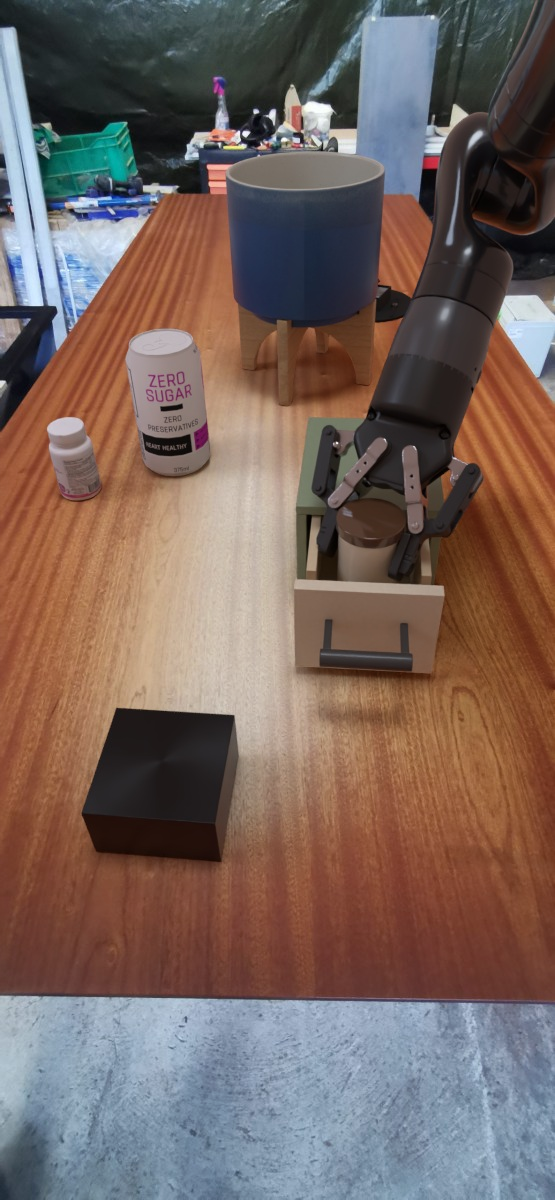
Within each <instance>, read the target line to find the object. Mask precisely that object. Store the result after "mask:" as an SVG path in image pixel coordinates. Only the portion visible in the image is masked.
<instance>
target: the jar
mask: <svg viewBox="0 0 555 1200" xmlns="http://www.w3.org/2000/svg"><path fill="white" fill-rule="evenodd" d="M406 523H407V518H406V515H405V513H404V511H403V510H402V509H401V508H400V507H399V506H397V505H396V504H394V503H392V502H390V501H387V500H383V499H378V498H362V499H357V500H353V501H350V502H348V503H346V504H345V505H343V506H342V507H341V508H340V509H339V511H338V513H337V516H336V530H337V532H338V559H337V581H347V582H370V583H392V584H398V581H397V580H394V579H391V578H389V577H388V571H389V568H390V566H391V563H392V560H393V557H394V555H395V552H396V549H397V547H398V544H399V541H400V539H401V537H402V534H403V532H405V531H406Z"/></svg>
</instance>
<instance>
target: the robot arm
mask: <svg viewBox="0 0 555 1200" xmlns="http://www.w3.org/2000/svg"><path fill="white" fill-rule="evenodd" d="M435 176H436V177H435V189H434V190H435V191H434V206H433V207H434V208H433V219H432V220H433V221H432V226H431V227H432V228H431V235H430V241H429V244H428V249H427V254H426V257H425V260H424V263H423V265H422V269H421V272H420V274H419V278H418V280H417V282H416V285H415V288H414V291H413V294H412V296H411V302H410V304H409V307H408V309H407V311H406V313H405V315H404V317H402V319H401V321H400V323H399V325H398V327H397V329H396V332H395V334H394V336H393V340H392V342H391V345H390V348H389V351H388V353H387V356H386V359H385V362H384V365H383V367H382V370H381V372H380V374H379V375H380V376H379V378H378V380H377V383H376V386H375V388H374V392H373V394H372V397H371V400H370V403H369V406H368V410H367V412H366V415H365V418H364V419H365V420H364V421H363V423H362V424H361V425H360V426H359V427H358V428H357V429H356V430H355V431H347V430H337V429H336V428H335V427H334V426H332V425H327V426H325V427H324V428H323V429H322V433H321V439H320V444H319V449H318V455H317V460H316V466H315V471H314V476H313V482H312V487H311V490H312V492H313V493H314V494H315V495H316V496H318V497H319V498H320V499H321V500H323V501H324V502H325V504H326V507H327V510H326V513H325V516H324V519H323V521H322V524H321V527H320V530H319V532H318V535H317V538H316V544H317V545H319V546H320V547H319V553H321V554H323V555H325V556H328V557H331V558H333V557H334V555H335V553H336V550H337V547H338V532H337V530H336V516H337V513H338V511H339V509H340V508H341V507H342V506H343V505H345V504H346V503H348V502H350V501H353V500H357V499H360V498H361V497H363V496H365V495H367V494H368V492H369V491H370V490H371V489H372V488H373V487H377V488H380V489H392V490H394V491H395V492H397V493H399V494H401V495H404V496H405V501H406V505H407V516H408V530H407V532H406V533H405V532H403V534H402V537H401V539H400V541H399V544H398V547H397V549H396V552H395V555H394V557H393V560H392V563H391V566H390V568H389V571H388V577H389V578H391V579H394V580H397V581H401V580H402V578H403V575H405V576H409V575H410V574H411V573H412V572H413V569H414V566H415V564H416V561H417V558H418V555H419V553H420V550H421V547H422V545H423V543H424V541H425V540H426V539H428V538H432V537H441V539H448V538H450V537H451V536H452V535H453V533H454V531H455V530H456V528H457V526H458V525H459V523H460V521H461V520H462V517H463V516H464V514H465V513H466V511H467V510H468V508H469V506H470V504H471V502H472V501H473V499H474V497H475V496H476V494H477V492H478V491H479V489H480V487H481V485H482V483H483V482H484V474H483V471H482V469H481V467H480V466H479V465H478V464H477V463H475V462H470V463H467V462H465V461H463V460H461V459H459V458H457V457H456V456H455V449H454V448H455V443H456V440H457V439H458V435H459V432H460V430H461V427H462V423H463V422H464V418H465V417H466V413H467V410H468V408H469V405H470V402H471V399H472V397H473V394H474V391H475V389H476V386H477V384H478V383H479V381H480V378H481V376H482V373H483V367H484V364H485V362H486V359H487V354H488V351H489V348H490V347H489V346H490V342H491V338H492V334H493V331H494V328H495V325H496V323H497V320H498V317H499V314H500V312H501V309H502V306H503V304H504V301H505V298H506V297H507V293H508V290H509V288H510V286H511V285H510V284H511V282H512V278H513V275H514V262H513V259H512V257H511V255H510V253H509V252H508V251H507V250H506V249H505V248H504V247H503V246H502V245H501V244H500V243H499V242H497V241H496V240H495V239H493V238H492V237H491V236H489V234H486V233H485V232H484V230H482V229H481V228H480V227H479V226H478V225H477V224H476V222H475V221H478V222H480V223H484V224H486V225H488V226H489V225H490V226H492V227H494V228H497V229H500V230H502V231H505V232H507V233H509V234H513V235H518V236H528V235H533V234H535V233H538V232H540V231H542V230H544V229H545V228H546V227H548V226H549V225H550V224H551V223H552V221H554V219H555V0H535V1H534V4H533V7H532V10H531V13H530V15H529V17H528V21H527V23H526V25H525V27H524V30H523V32H522V34H521V37H520V39H519V40H518V43H517V45H516V47H515V49H514V51H513V53H512V55H511V57H510V59H509V62H508V64H507V66H506V68H505V69H504V72H503V74H502V76H501V79H500V80H499V82H498V85H497V86H496V88H495V91H494V93H493V95H492V98H491V100H490V103H489V107H488V111H487V112H484V111H476V112H473V113H471V114H468V115H467V116H465V117H463V118H462V119H460V120H459V121H458V122H457V123H456V124H455V125H454V126H453V127H452V129H451V130H450V131H449V133H448V135H447V137H446V138H445V140H444V143H443V145H442V148H441V150H440V154H439V158H438V163H437V169H436V175H435ZM353 445H354V446H355V449H356V453H357V456H358V461H357V463H356V464H355V465H354V466H353V467H352V468H351V469H350V471H349V472H348V473H347V474H346V475H345V477H344V480H343V482H342V483H341V484H340V485H339V487H338V488H337V489H336V490H335V487H336V481H337V476H338V470H339V465H340V460H341V457H343V456H345V455H346V454H347V452H348V450H349V448H350V447H351V446H353ZM449 471H450V477H449V484H450V485H451V487H452V488H451V490H450V492H449V493H448V496H447V497H446V499H445V500H444V504H443V506H442V507H441V509H440V511H439V513H438V514H437V516H436V518H435V519H428V510H429V500H428V485H430V484H431V483H432V482H434V481H435V480H436V479H438V478H439V477H441V478H442V476H443V475H445V474H446V473H447V472H449ZM358 472H359V473H358Z"/></svg>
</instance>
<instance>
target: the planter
mask: <svg viewBox="0 0 555 1200" xmlns="http://www.w3.org/2000/svg"><path fill="white" fill-rule="evenodd" d="M385 177H386V168H385V166H384V165H383V164H382V163H381V162H379V161H378V160H376V159H374V158H371V157H368V156H364V155H359V154H353V153H346V152H338V151H319V150H317V151H313V150H312V151H289V152H278V153H271V154H270V153H269V154H263V155H259V156H254V157H249V158H246V159H243V160H240V161H238V162H236V163H233V164H232V165H230V166H228V167H227V168H226V171H225V188H226V200H227V201H226V203H227V219H228V235H229V248H230V264H231V278H232V291H233V292H232V295H233V298H234V300H235V303H237V311H238V312H237V313H238V327H239V328H238V329H239V342H240V360H241V369H242V370H249V371H254V370H256V368H257V367H258V357H259V352H260V349H261V347H262V345H263V342H265V340H266V338H268V337H269V336H270V335H271V334H273V333H274V332H276V342H277V343H276V344H277V347H276V348H277V375H278V377H277V380H278V405H280V406H285V407H289V406H290V404H291V403H292V401H293V399H294V398H293V397H294V394H293V393H294V380H295V371H296V366H297V361H298V356H299V351H300V347H301V344H302V342H303V338H304V336H305V334H306V332H307V330H308V329H309V328H310V329H314V335H315V341H316V342H315V343H316V353H317V354H326V353H327V352H328V350H329V348H330V347H329V345H330V337H331V338H333V339H334V340H335V341H336V342H338V344H340V345H341V347H342V348H343V349H344V350H345V351H346V353H347V355H348V357H349V358H350V360H351V363H352V365H353V369H354V374H355V384H357V385H363V386H370V384H371V382H372V378H373V377H372V376H373V375H372V373H373V361H374V360H373V359H374V342H375V329H376V328H375V325H376V322H375V312H376V299H375V298H376V296H377V291H378V284H379V283H378V279H379V272H380V257H381V242H382V227H383V226H382V224H383V212H384V211H383V209H384V195H385V194H384V193H385Z"/></svg>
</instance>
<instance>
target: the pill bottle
mask: <svg viewBox="0 0 555 1200" xmlns="http://www.w3.org/2000/svg"><path fill="white" fill-rule="evenodd" d="M46 431H47V436H48V439H49V444H48V452H49V456H50V459H51V464H52V466H53V470H54V473H55V477H56V481H57V484H58V489H59V492H60V494H61V495H62V497H63V498H64V499H67V500H69V501H85V500H90V499H92V498H94V497H95V496H97V495H98V494H99V493H100V492H101V489H102V481H101V476H100V473H99V469H98V464H97V459H96V455H95V450H94V445H93V442H92V439H91V438H90V437H89V435H87V431H86V427H85V423H84V421H83V420H82V419H81V418H79V417H73V416H65V417H61V418H57V419H55V420H53V421H52V422H50V423H48V425H47V427H46Z"/></svg>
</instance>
